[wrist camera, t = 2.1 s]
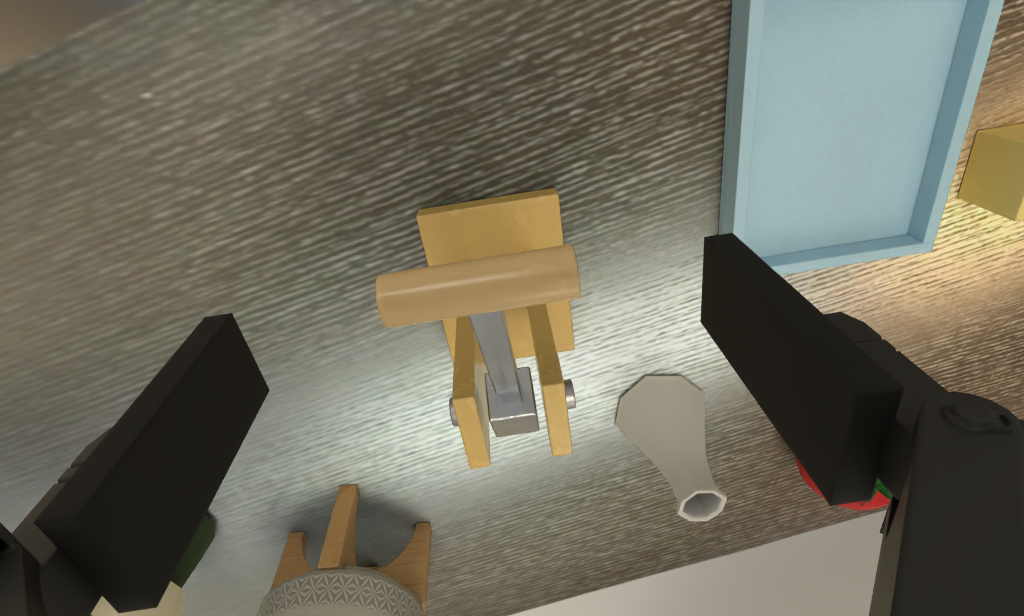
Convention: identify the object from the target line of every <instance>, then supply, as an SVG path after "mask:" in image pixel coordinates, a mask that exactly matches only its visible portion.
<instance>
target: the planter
mask: <svg viewBox="0 0 1024 616" xmlns="http://www.w3.org/2000/svg"><path fill="white" fill-rule="evenodd" d="M358 499H359V490H358V486H357V484H355V485H341V486H340V487H339V490H338V494H337V498H336V501H335V505H334V508H333V512H332V516H331V519H330V523H329V527H328V530H327V534H326V538H325V541H324V545H323V548H322V552H321V556H320V559H319V563H318V567H317V568H318V569H313V568H311V567H310V565H309V564H308V563H307V561H306V555H305V550H306V545H307V540H306V537H305V534H304V532H294V533H290V534H289V537H288V540H287V543H286V546H285V549H284V552H283V555H282V557H281V560H280V563H279V566H278V569H277V572H276V575H275V578H274V581H273V584H272V587H271V589H270V591H269V593H268V594H267V595H266V596H265V597H264V599H263V601H262V603H261V605H260V608H259V611H258V614H257V616H424V614H425V611H426V599H427V586H428V574H429V561H430V548H431V536H432V531H431V525H430V522H426V523H417V524H416V529H415V533H414V535H413V537H412V539H411V541H410V543H409V544H408V546H407V547H406V549H405V550H404V551H403V552H402V553H401V555H399V556H398V557H397V558H396V559H395V560H394V561H393V562H391V563H390V564H388V565H387V566H385V567H383V568H382V569H379V566H373V567H364V568H363V567H358V566H356V555H355V524H356V513H357V505H358Z"/></svg>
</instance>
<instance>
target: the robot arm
mask: <svg viewBox="0 0 1024 616" xmlns="http://www.w3.org/2000/svg"><path fill="white" fill-rule="evenodd" d="M701 323H702V325H703V326H704V327H705V329H706V330H707V332H708V333H709V335H710V336H711V337H712V339H713V340H714V342H715V343H716V344H717V346H718V347H719V349H720V350H721V352H722V353H723V354H724V356H725V357H726V359H727V360H728V361H729V363H730V364H731V366H732V367H733V369H734V370H735V371H736V373H737V374H738V376H739V377H740V378H741V380H742V381H743V383H744V384H745V386H746V387H747V388H748V390H749V391H750V393H751V394H752V395H753V397H754V398H755V400H756V401H757V403H758V404H759V405H760V407H761V408H762V410H763V411H764V412H765V414H766V415H767V417H768V418H769V420H770V421H771V422H772V424H773V425H774V427H775V428H776V429H777V431H778V432H779V434H780V435H781V437H782V438H783V439H784V441H785V442H786V444H787V445H788V446H789V448H790V449H791V451H792V452H793V454H794V455H795V456H796V458H797V459H798V461H799V462H800V463H801V465H802V466H803V468H804V469H805V471H806V472H807V473H808V475H809V476H810V478H811V479H812V481H813V482H814V483H815V485H816V486H817V488H818V489H819V490H820V492H821V493H822V495H823V496H824V498H825V499H826V500H827V502H828V503H829V505H830V506H834V505H840V504H847V503H854V502H860V501H867V500H871V497H872V494H873V491H874V487H875V484H876V481H877V477H878V479H879V480H880V481H881V482H882V483H883V485H884V486H885V487H886V488H887V489H888V490H889V492H890V493H891V494H892V497H891V500H890V503H889V506H888V509H887V512H886V515H885V518H884V521H883V524H882V528H881V530H880V533H882V534H883V539H882V545H881V550H880V556H879V561H878V567H877V573H876V578H875V584H874V589H873V595H872V601H871V606H870V612H869V616H1024V420H1019V419H1018V418H1017V417H1016V416H1015V415H1013V414H1012V413H1011V412H1010V411H1009V410H1008V409H1006V408H1004V407H1002V406H1001V405H999V404H997V403H995V402H993V401H991V400H988V399H985V398H982V397H979V396H976V395H973V394H967V393H960V392H948V391H946V390H945V389H944V388H943V387H942V386H940V385H939V384H938V383H937V382H936V381H934V380H933V379H932V378H931V377H930V376H928V375H927V374H926V373H925V372H924V371H922V370H921V369H920V368H919V367H917V366H916V365H915V364H914V363H913V362H911V361H910V360H909V359H908V358H907V357H905V356H904V355H903V354H902V353H901V352H899V351H897V352H896V350H895V348H894V347H893V346H892V345H891V344H890V343H888V342H887V341H886V340H885V339H884V340H882V338H881V336H880V335H879V334H878V333H876V332H875V331H874V330H873V329H872V328H870V327H869V326H868V325H867V324H865V323H864V322H862V321H860V320H857V319H855V318H853V317H851V316H849V315H846V314H844V313H842V312H836V313H830V314H824V315H823V314H822V313H821V312H820V311H819V310H818V309H817V308H815V307H814V306H813V305H812V304H811V303H810V302H809V301H808V300H807V299H805V298H804V297H803V296H802V295H801V294H800V293H799V292H798V291H797V290H795V289H794V288H793V287H792V286H791V285H790V284H789V283H788V282H787V281H786V280H784V279H783V278H782V277H781V276H780V275H779V274H778V273H777V272H776V271H774V270H773V269H772V268H771V267H770V266H769V265H768V264H767V263H766V262H764V261H763V260H762V259H761V258H760V257H759V256H758V255H757V254H756V253H754V252H753V251H752V250H751V249H750V248H749V247H748V246H747V245H746V244H744V243H743V242H742V241H741V240H740V239H739V238H738V237H737V236H736V235H734V234H733V233H727V234H721V235H715V236H709V237H704V258H703V281H702V304H701ZM268 392H269V388H268V386H267V384H266V382H265V380H264V378H263V376H262V374H261V372H260V370H259V368H258V366H257V363H256V361H255V359H254V357H253V355H252V353H251V351H250V349H249V347H248V345H247V343H246V341H245V339H244V337H243V335H242V333H241V331H240V329H239V327H238V325H237V323H236V321H235V319H234V316H233V314H232V313H230V314H223V315H217V316H211V317H205V318H204V319H203V320H202V321H201V323H200V324H199V325H198V326H197V327H196V329H195V330H194V331H193V332H192V333H191V335H190V336H189V337H188V338H187V339H186V340H185V342H184V343H183V344H182V345H181V346H180V348H179V349H178V350H177V351H176V352H175V354H174V355H173V356H172V357H171V358H170V360H169V361H168V362H167V363H166V364H165V366H164V367H163V368H162V369H161V370H160V372H159V373H158V374H157V375H156V376H155V377H154V379H153V380H152V381H151V382H150V383H149V385H148V386H147V387H146V388H145V389H144V391H143V392H142V393H141V394H140V395H139V397H138V398H137V399H136V400H135V401H134V403H133V404H132V405H131V406H130V407H129V409H128V410H127V411H126V412H125V413H124V414H123V416H122V417H121V418H120V419H119V420H118V422H117V423H116V424H115V425H114V426H113V428H110V429H108V430H107V431H106V432H105V433H103V434H102V435H101V436H99V437H98V438H97V439H96V440H94V441H93V442H92V443H90V444H89V445H88V446H87V447H86V448H85V449H84V450H83V451H82V453H81V454H80V455H79V456H78V457H77V458H76V460H75V461H74V462H73V463H72V464H71V468H69V469H67V470H66V471H65V472H64V474H63V475H62V476H61V477H60V478H59V479H58V484H54V485H53V486H52V488H51V489H50V490H49V491H48V492H47V493H46V494H45V496H44V497H43V498H42V499H41V500H40V501H39V503H38V504H37V505H36V506H35V507H34V508H33V510H32V511H31V512H30V513H29V514H28V515H27V517H26V518H25V519H24V520H23V521H22V522H21V524H20V525H19V526H18V527H17V528H16V529H15V531H14V532H13V533H12V534H11V533H10V532H9V531H8V530H7V529H6V528H5V527H4V526H3V525H2V524H1V523H0V616H92V615H91V613H92V611H93V610H94V608H95V606H96V605H97V603H98V602H99V600H100V598H101V597H102V596H103V597H104V598H105V599H106V600H107V602H108V603H109V604H110V605H111V606H112V607H113V608H114V609H115V610H116V611H117V612H118V613H125V612H131V611H138V610H145V609H151V608H157V607H158V605H159V603H160V601H161V599H162V597H163V595H164V593H165V591H166V589H167V587H168V585H169V583H170V581H171V580H172V578H173V576H174V574H175V572H176V570H177V568H178V566H179V564H180V562H181V560H182V558H183V556H184V554H185V552H186V551H187V549H188V547H189V545H190V543H191V541H192V539H193V537H194V535H195V533H196V531H197V529H198V527H199V525H200V524H201V522H202V520H203V518H204V516H205V514H206V512H207V510H208V508H209V506H210V504H211V502H212V500H213V498H214V496H215V495H216V493H217V491H218V489H219V487H220V485H221V483H222V481H223V479H224V477H225V475H226V473H227V471H228V469H229V467H230V466H231V464H232V462H233V460H234V458H235V456H236V454H237V452H238V450H239V448H240V446H241V444H242V442H243V440H244V438H245V437H246V435H247V433H248V431H249V429H250V427H251V425H252V423H253V421H254V419H255V417H256V415H257V413H258V411H259V409H260V408H261V406H262V404H263V402H264V400H265V398H266V396H267V394H268Z"/></svg>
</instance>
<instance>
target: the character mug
mask: <svg viewBox="0 0 1024 616" xmlns="http://www.w3.org/2000/svg"><path fill="white" fill-rule="evenodd" d="M214 537H215V530H214V524H213V523H212V522H211V521H210V520H209V519H208V517H207V516H206V515H205V516H204V518H203V520H202V522H201V524H200V525H199V527H198V529H197V531H196V533H195V535H194V537H193V539H192V541H191V543H190V545H189V547H188V549H187V551H186V552H185V554H184V556H183V558H182V560H181V562H180V564H179V566H178V568H177V570H176V572H175V574H174V576H173V578H172V580H171V581H170V583H169V585H168V587H167V589H166V591H165V593H164V595H163V597H162V599H161V601H160V603H159V605H158V607H157V608H151V609H145V610H138V611H131V612H125V613H118V612H117V611H116V610H115V609H114V608H113V607H112V606H111V605H110V604H109V603H108V602H107V600H106V599H105V598H104V597H103V596H102V597H101V598H100V600H99V602H98V603H97V605H96V606H95V608H94V610H93V611H92V613H91V615H92V616H183V613H184V609H185V603H186V596H185V595H184V593H183V591H182V590H181V588H182V586H183V585H184V584H185V582H186V581H187V579H188V578H189V576H190V575H191V573H192V572H193V570H194V569H195V567H196V566H197V564H198V563H199V561H200V560H201V558H202V557H203V555H204V554H205V552H206V550H207V549H208V547H209V545H210V544H211V542H212V540H213V539H214Z"/></svg>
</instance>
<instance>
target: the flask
mask: <svg viewBox="0 0 1024 616" xmlns="http://www.w3.org/2000/svg"><path fill="white" fill-rule="evenodd" d="M615 425H616V426H617V427H618V428H619V429H620V430H621V432H623V433H624V434H625V435H626V436H627V437H628V438H629V439H630V440H631V441H632V442H633V443H634V444H635V445H636V446H637V447H638V448H639V449H640V450H641V451H642V452H643V453H644V454H645V455H646V456H647V457H648V458H649V459H650V460H651V461H652V462H653V463H654V465H655V466H656V467H657V468H658V469H659V470H660V471H661V472H662V474H663V475H664V477H665V478H666V480H667V481H668V483H669V484H670V486H671V487H672V489H673V491H674V494H675V496H676V498H677V501H678V504H677V508H676V510H677V513H678V514H679V515H680V516H682V517H684V518H685V519H687V520H689V521H709V520H710V519H711V518H713V517H714V516H716V515H717V514H719V513H720V512H722V510H723V508H724V505H725V503H726V500H727V497H726V495H725V494H724V493H723V492H722V491H720V490H719V489H717V487H716V485H715V483H714V481H713V479H712V477H711V473H710V469H709V465H708V461H707V457H706V445H705V401H704V392H702V391H701V390H700V389H698V388H697V387H695V386H694V385H693V384H691V383H690V382H689V381H687V380H686V379H685V378H683V377H682V376H645V377H644V378H643V379H642V380H641V381H640V382H638V383H637V384H636V385H635V386H634V387H633V388H632V389H630V390H629V391H628V392H627V393H626V394H625V395H624V396H622V397H621V398H620V403H619V408H618V413H617V417H616V422H615Z"/></svg>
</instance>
